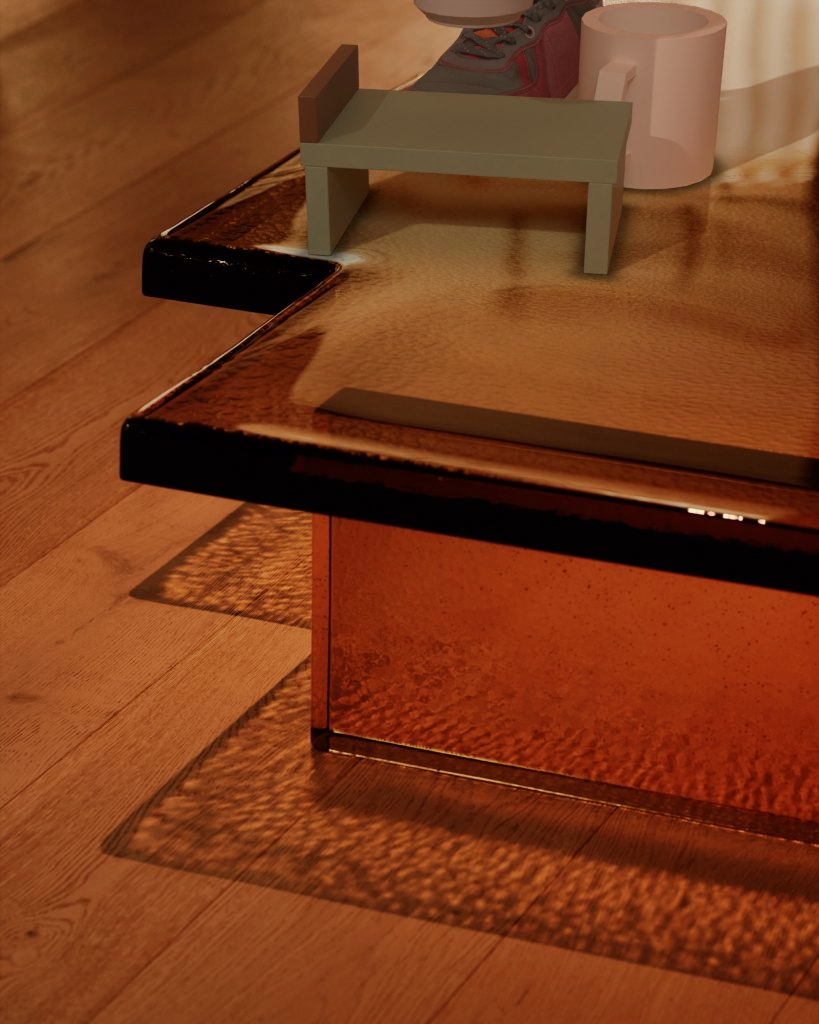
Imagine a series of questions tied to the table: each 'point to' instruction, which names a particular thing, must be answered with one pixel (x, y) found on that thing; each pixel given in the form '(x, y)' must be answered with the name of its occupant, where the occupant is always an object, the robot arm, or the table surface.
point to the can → (473, 12)
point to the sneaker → (516, 55)
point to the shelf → (454, 147)
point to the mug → (658, 85)
